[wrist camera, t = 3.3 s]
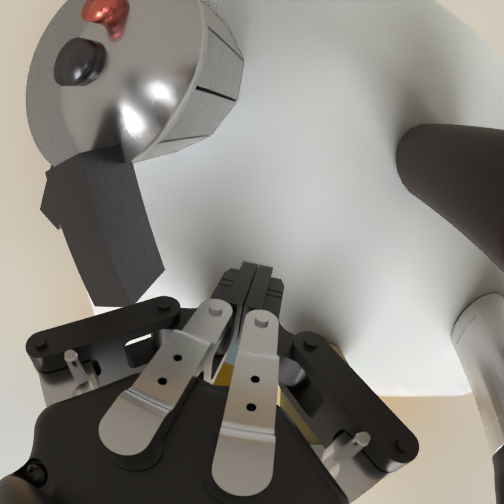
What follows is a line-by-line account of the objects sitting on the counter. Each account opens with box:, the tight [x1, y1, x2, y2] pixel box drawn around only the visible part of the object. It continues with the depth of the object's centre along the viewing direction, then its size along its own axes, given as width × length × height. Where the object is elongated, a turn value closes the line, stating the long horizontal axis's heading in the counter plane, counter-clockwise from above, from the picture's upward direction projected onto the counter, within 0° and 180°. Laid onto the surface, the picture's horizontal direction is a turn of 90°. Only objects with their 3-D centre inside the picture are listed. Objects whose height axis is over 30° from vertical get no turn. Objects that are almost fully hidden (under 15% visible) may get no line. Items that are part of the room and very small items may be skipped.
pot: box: [40, 0, 244, 230], centre depth 17 cm, size 24×14×9 cm, turn 142°
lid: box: [26, 0, 208, 307], centre depth 11 cm, size 21×15×5 cm
